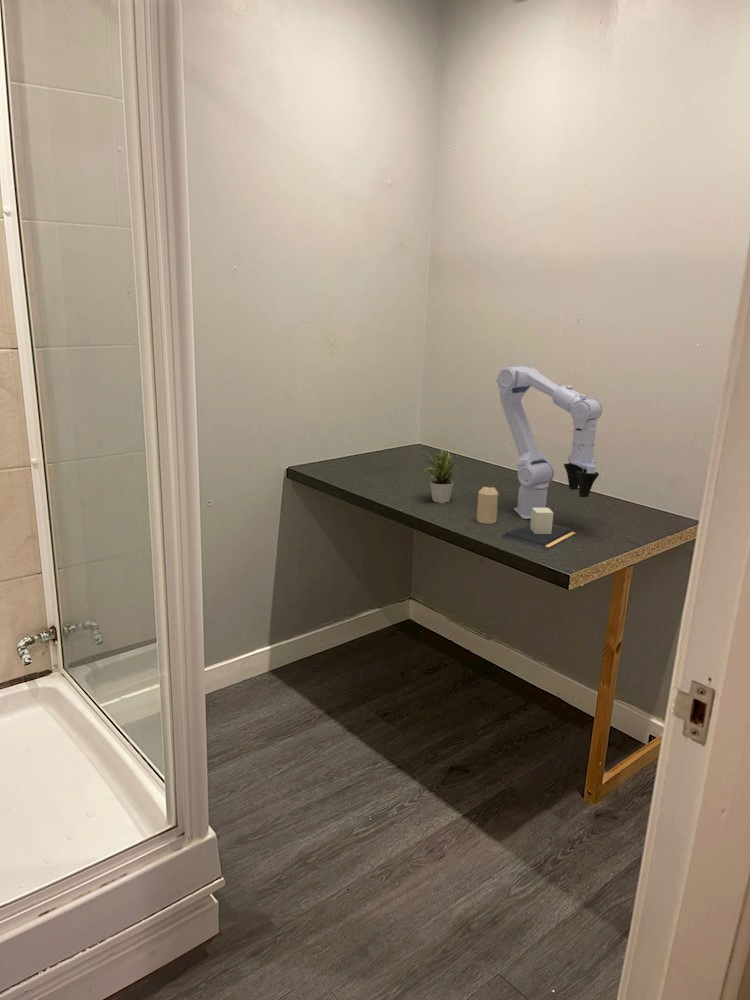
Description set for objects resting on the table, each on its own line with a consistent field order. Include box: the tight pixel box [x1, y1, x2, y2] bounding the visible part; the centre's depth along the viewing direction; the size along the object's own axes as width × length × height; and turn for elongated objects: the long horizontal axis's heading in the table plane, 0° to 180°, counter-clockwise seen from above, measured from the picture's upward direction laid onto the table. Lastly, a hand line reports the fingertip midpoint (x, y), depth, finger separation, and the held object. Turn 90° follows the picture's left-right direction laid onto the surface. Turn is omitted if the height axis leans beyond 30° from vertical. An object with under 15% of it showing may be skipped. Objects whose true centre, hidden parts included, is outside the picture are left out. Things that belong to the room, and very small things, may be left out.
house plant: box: [422, 449, 459, 504], centre depth 220 cm, size 14×14×16 cm
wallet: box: [501, 521, 576, 551], centre depth 194 cm, size 20×2×15 cm
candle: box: [476, 486, 499, 525], centre depth 202 cm, size 6×6×10 cm
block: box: [530, 507, 554, 534], centre depth 192 cm, size 4×4×6 cm
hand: (578, 492), depth 196 cm, fingers open, 7 cm apart
